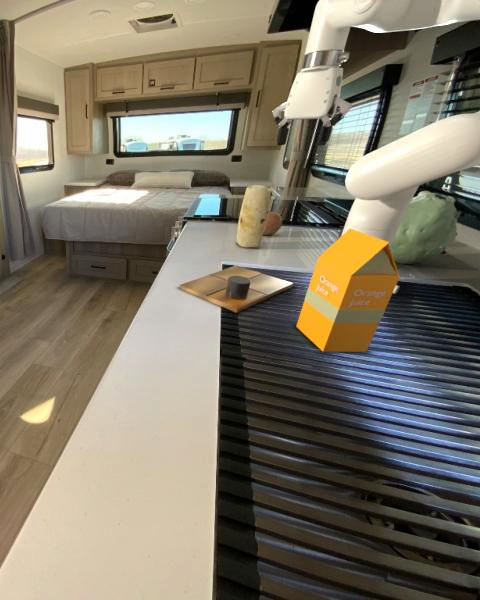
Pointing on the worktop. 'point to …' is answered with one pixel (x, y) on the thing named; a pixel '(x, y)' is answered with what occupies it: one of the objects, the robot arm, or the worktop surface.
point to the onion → (272, 223)
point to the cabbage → (425, 229)
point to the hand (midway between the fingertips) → (300, 145)
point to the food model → (253, 215)
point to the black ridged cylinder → (238, 287)
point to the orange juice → (348, 293)
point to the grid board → (216, 285)
